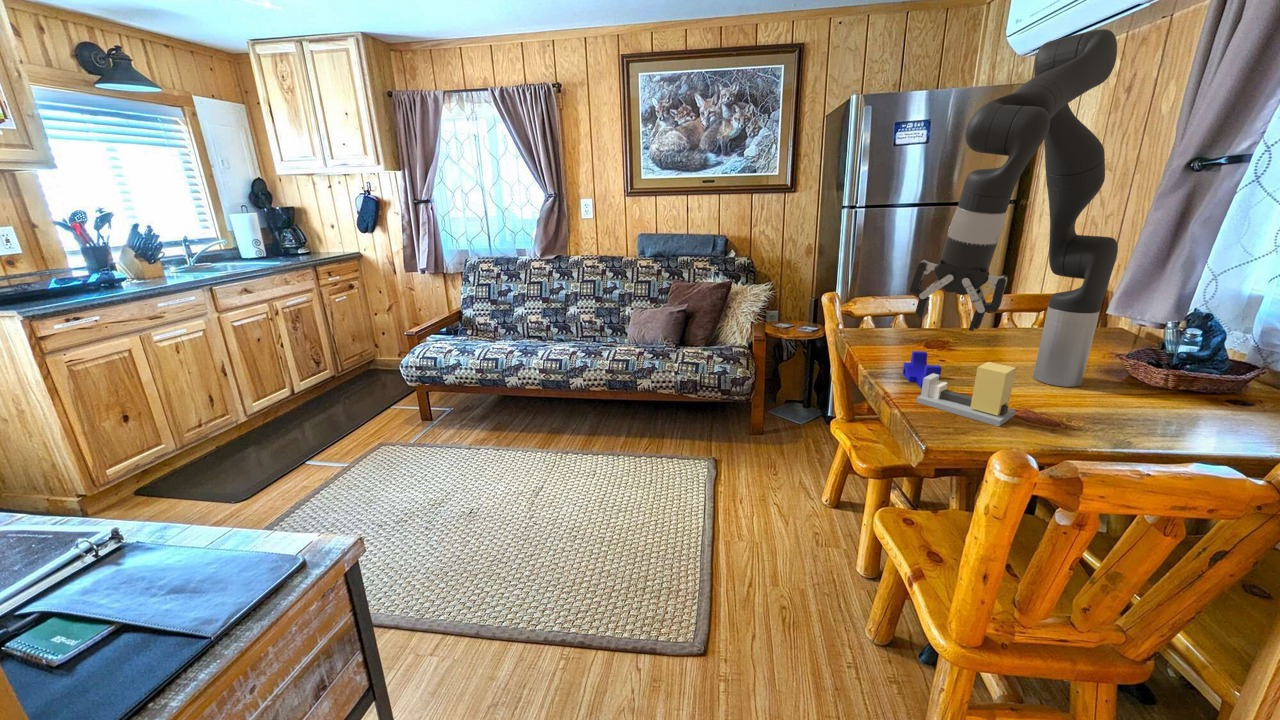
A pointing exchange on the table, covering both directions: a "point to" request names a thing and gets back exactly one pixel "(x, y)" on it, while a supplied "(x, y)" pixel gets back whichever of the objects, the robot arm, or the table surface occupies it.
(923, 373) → the blue stepped block
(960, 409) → the comb board
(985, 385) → the pale yellow block
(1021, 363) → the table surface
